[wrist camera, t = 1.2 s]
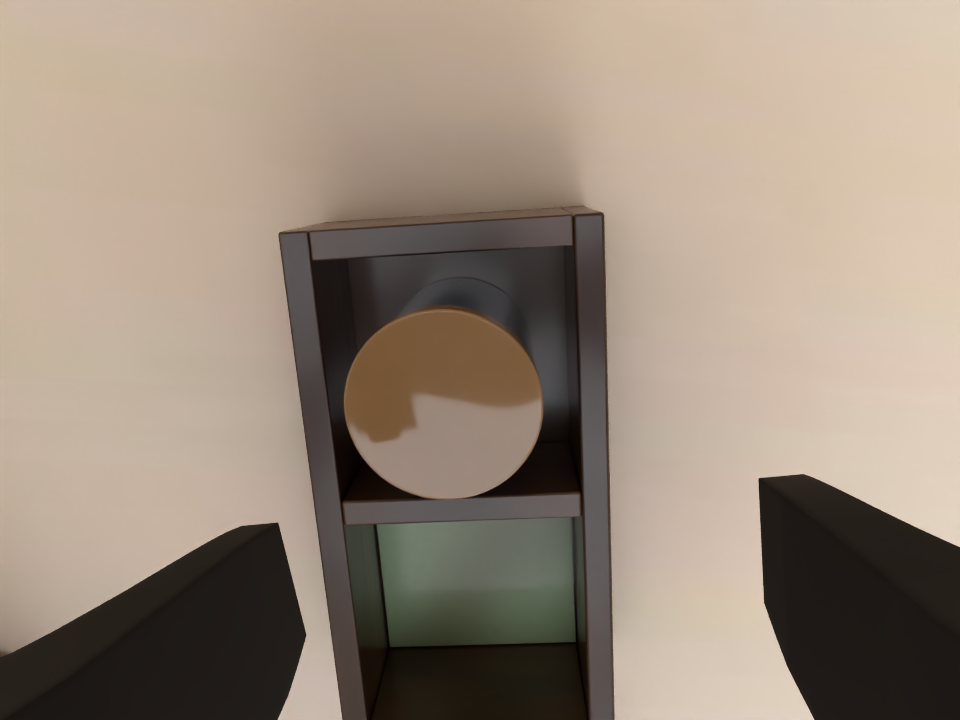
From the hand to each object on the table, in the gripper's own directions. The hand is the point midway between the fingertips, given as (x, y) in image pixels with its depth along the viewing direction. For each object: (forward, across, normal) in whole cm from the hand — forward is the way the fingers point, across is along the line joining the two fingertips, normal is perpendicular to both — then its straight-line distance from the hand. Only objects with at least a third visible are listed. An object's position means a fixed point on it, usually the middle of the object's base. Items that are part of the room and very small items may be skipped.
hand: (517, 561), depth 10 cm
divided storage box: (+11, +2, +3) cm, 11 cm away
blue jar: (+10, +2, -1) cm, 10 cm away
